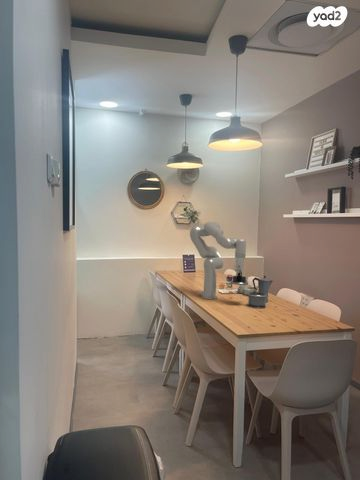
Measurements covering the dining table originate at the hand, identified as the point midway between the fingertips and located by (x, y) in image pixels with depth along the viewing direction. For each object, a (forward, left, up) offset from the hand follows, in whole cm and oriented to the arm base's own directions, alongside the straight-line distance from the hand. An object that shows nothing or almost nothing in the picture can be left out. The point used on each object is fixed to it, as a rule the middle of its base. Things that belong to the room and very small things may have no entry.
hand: (239, 280), depth 252 cm
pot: (+13, 0, -17) cm, 22 cm away
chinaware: (+2, +45, -18) cm, 49 cm away
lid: (0, 0, -2) cm, 2 cm away
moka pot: (+16, +19, -18) cm, 30 cm away
